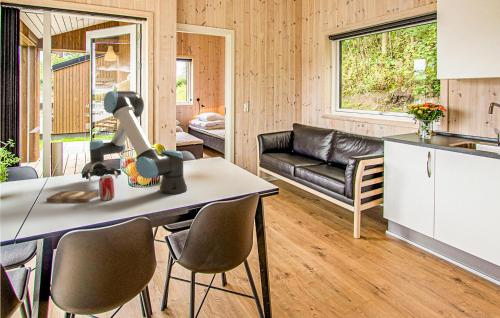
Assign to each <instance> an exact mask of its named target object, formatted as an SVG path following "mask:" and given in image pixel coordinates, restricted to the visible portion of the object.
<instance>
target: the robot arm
mask: <svg viewBox="0 0 500 318" xmlns="http://www.w3.org/2000/svg"><path fill="white" fill-rule="evenodd" d="M143 99H144V98H143V97H142V95H140V94H139V93H138V92H136V91H132V90H129V91H127V90H126V91H123V90H121V91H120V90H119V91H118V90H113V91H112V90H111V91H108V92H106V93H105V95H104V97H103V108H104V111H106V113H108V114H112V116H113V118H114V119H115V120H118V121H119V124H118V126H117V129H116V131H115V133H114V135H113V137H112V139H111V141H108V142H104V141H103V140H99V139H96V140H95V139H94V140H91V141H89V153H90V164H89V165H90V169H87V170H86V171H84V172H82V173H81V178H82V179H85V180H88V181H89V182H91V181H92V179H91V177H99V178H100V177H101V176H105V175H110V176H114V177H115V179H118V178H119V176H121V175H122V170H121V169H117V168H113V167H110V168H107V166H106V165H105V156H107V155H108V156H109V155H113V154H120V153H124V152H125V150H126V144H125V142H126V141H127V138H128V140H129V142H130V144H131V146H132V147H133V150H134V152H135V153H136V157H135V159H136V161H135V169H136V172H137V173H138V175H139V176H140V177H141V178H143V179H147V180H149V179H154V178H159V177H162V178H161V182H160V186H159V192H160V193H161V194H165V195H177V194H183V193H185V192H187V190H188V186H187V183H186V181H185V178H184V156H183V152H182V151H180V150H174V149H173V150H171V149H164V150H161V151H160V153H159V152H158V150H157V148H154V147H153V146H152V145H151V143H150V141H149V138H148V136H147V135H146V133H145V132H144V130H143V127H142V126H141V124H140V122H139V121H138V118H139V117H141V115H142V114H143V111H144V107H145V104H144V100H143Z"/></svg>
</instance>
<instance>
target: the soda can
mask: <svg viewBox="0 0 500 318" xmlns="http://www.w3.org/2000/svg"><path fill="white" fill-rule="evenodd" d="M114 183H115V182H114V178H113V175H110V174H108V175H104V176H101V177H99V180H98V189H99V190H98V191H99V197H100V200H102V201H112V200H113V199H115V184H114Z"/></svg>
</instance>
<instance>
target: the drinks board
mask: <svg viewBox="0 0 500 318" xmlns="http://www.w3.org/2000/svg"><path fill="white" fill-rule="evenodd" d="M98 195H99V194H98V191H81V190H75V191H71V190H70V191H63V190H61V191H58V192H56V193H54V194H53V195H50V196H49V197H47V198H46V203H69V204H70V203H75V204H76V203H79V204H80V203H84V204H85V203H88V202H90V201H91V200H93V199H94V198H96V197H97V196H98Z"/></svg>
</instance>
